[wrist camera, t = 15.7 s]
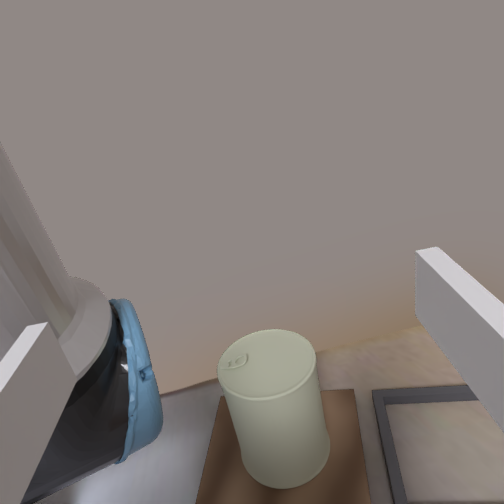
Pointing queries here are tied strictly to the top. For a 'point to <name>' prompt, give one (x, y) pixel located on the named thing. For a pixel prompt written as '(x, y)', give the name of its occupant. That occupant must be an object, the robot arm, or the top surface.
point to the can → (276, 406)
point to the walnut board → (302, 497)
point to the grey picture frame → (402, 398)
